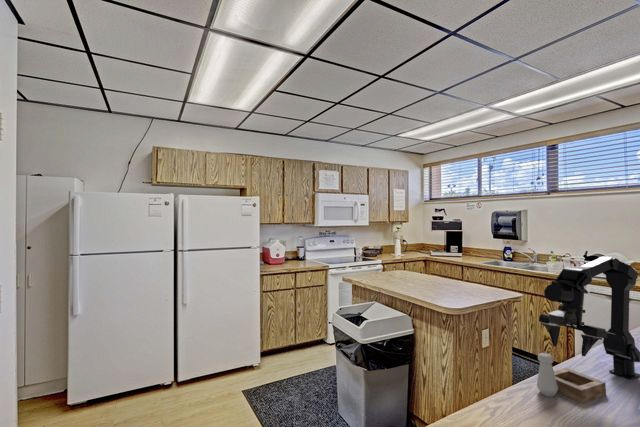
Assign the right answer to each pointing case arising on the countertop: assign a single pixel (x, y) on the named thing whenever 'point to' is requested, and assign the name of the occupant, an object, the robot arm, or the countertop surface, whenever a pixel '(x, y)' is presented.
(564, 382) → the socket block
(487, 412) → the countertop surface
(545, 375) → the salt shaker
